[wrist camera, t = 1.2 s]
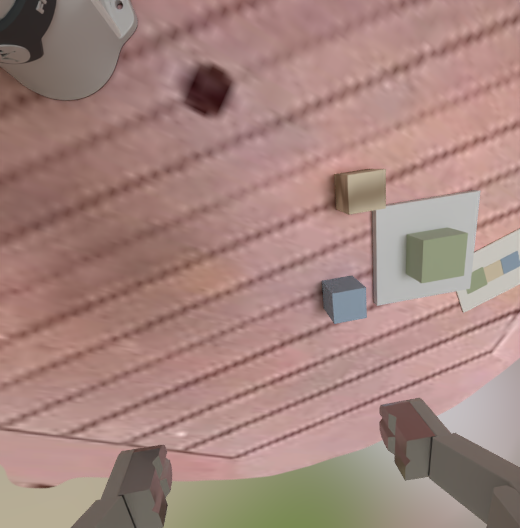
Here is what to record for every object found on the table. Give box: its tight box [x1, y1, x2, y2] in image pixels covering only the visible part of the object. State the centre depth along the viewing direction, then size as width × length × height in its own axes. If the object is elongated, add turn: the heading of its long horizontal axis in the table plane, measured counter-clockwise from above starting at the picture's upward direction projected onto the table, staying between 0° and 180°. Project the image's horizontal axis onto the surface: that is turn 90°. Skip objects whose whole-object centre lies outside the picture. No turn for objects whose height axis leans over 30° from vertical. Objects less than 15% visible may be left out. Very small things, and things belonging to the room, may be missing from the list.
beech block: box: [334, 169, 386, 214], centre depth 40 cm, size 5×5×5 cm
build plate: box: [372, 190, 480, 306], centre depth 44 cm, size 16×16×5 cm
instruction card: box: [456, 228, 520, 313], centre depth 49 cm, size 10×14×1 cm
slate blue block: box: [322, 276, 367, 324], centre depth 45 cm, size 5×5×5 cm
